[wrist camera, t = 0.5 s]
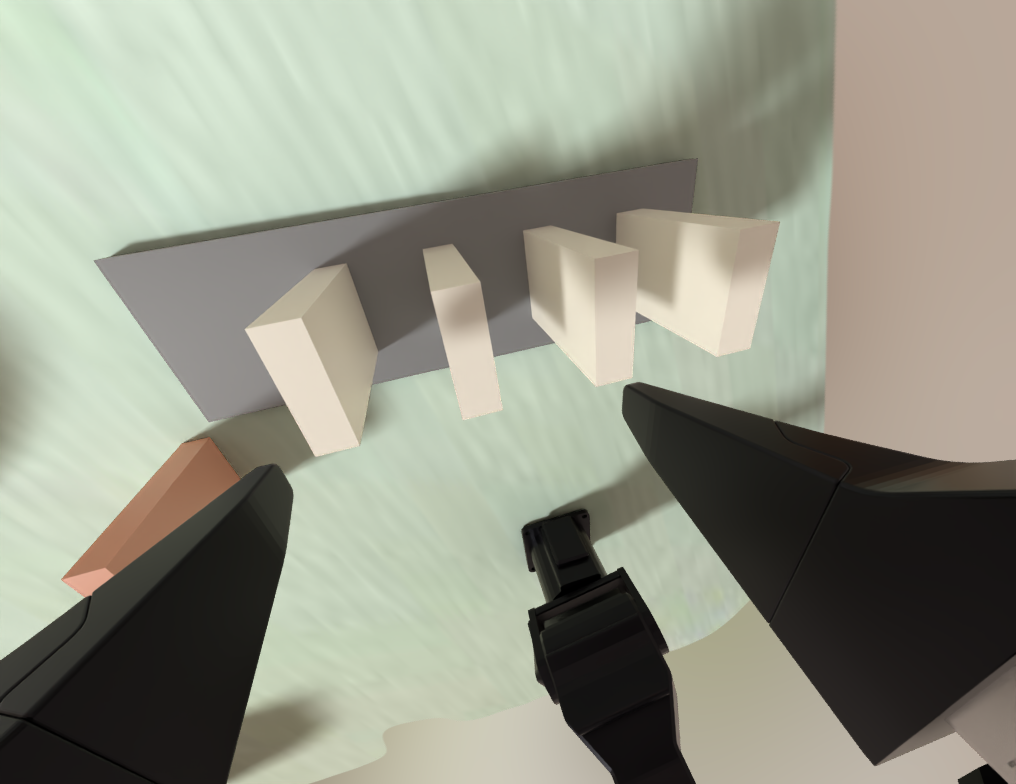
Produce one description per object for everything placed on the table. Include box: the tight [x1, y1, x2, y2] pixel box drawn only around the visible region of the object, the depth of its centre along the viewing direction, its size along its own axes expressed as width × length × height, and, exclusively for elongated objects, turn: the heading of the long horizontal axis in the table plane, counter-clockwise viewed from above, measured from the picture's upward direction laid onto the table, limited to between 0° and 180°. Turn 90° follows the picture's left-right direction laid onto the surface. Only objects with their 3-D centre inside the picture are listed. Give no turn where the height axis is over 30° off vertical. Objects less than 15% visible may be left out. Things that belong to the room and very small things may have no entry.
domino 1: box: [245, 263, 378, 457], centre depth 16 cm, size 5×2×9 cm, turn 7°
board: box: [94, 158, 698, 422], centre depth 21 cm, size 9×30×1 cm, turn 97°
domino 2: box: [423, 244, 503, 420], centre depth 16 cm, size 5×2×9 cm, turn 7°
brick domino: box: [61, 437, 241, 597], centre depth 20 cm, size 5×2×9 cm, turn 7°
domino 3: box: [523, 225, 639, 387], centre depth 17 cm, size 5×2×9 cm, turn 7°
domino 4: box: [616, 208, 780, 357], centre depth 18 cm, size 5×2×9 cm, turn 7°
